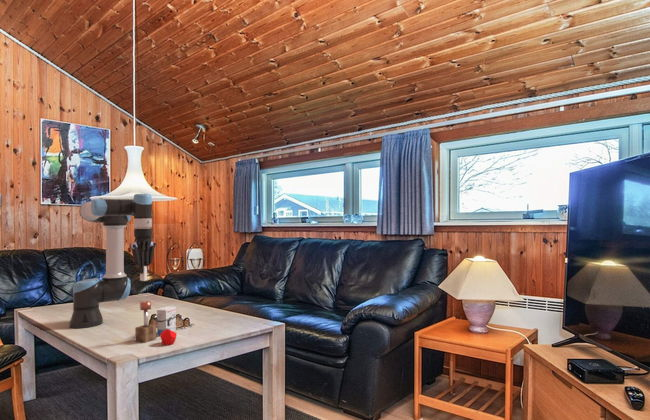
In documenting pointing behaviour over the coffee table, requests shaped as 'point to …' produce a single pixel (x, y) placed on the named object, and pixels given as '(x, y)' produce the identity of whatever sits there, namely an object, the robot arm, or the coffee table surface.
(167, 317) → the ink box
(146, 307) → the awl
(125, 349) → the coffee table surface
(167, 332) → the apple
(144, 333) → the awl socket
